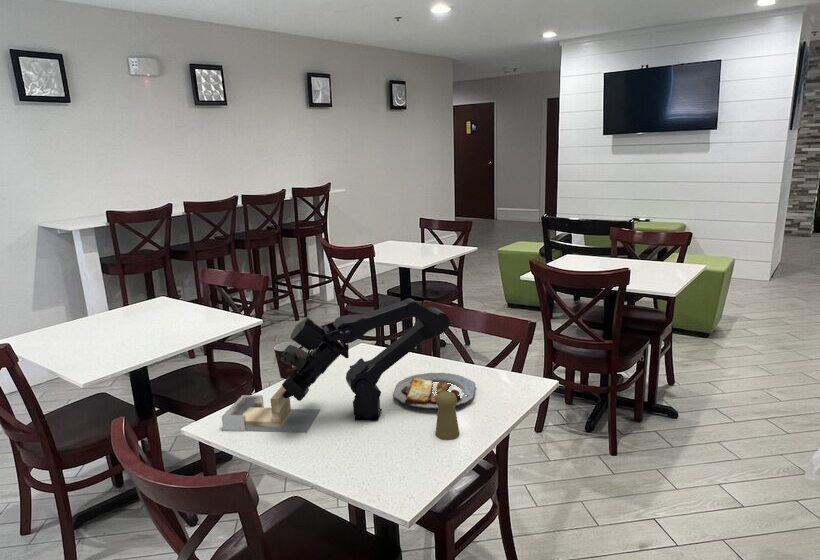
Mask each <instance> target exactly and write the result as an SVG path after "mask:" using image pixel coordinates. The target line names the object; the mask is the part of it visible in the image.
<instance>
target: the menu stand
mask: <svg viewBox="0 0 820 560" xmlns="http://www.w3.org/2000/svg"><path fill="white" fill-rule="evenodd" d="M285 391H286V389H285V388H283V386H282V385H281V386H280V387H279V388H278V390H277V391H276V392H275V393H274V394H273V395H272V396H271V397H270V400H269V401H270V407H264V408H255V407H249V408H248V409H247V411H246V412H245V413H244V414H243V415H245V418H246V426H252V427H281V426H282V425H283V424H284V422H285V421H286V420H287V418H288V417H289V416H290V414H291V409H292V407H291V397H289V398H284V397H283V394H284V393H285Z"/></svg>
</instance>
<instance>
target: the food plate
mask: <svg viewBox="0 0 820 560" xmlns="http://www.w3.org/2000/svg"><path fill="white" fill-rule="evenodd" d="M433 382H439V383H436V389H435V390H437V391H436V392H437V393H436V394H437V395H438V394H439V393H440V392H444V391H447V390H448V389H449V390H450V388H451V387H452V386H453V385H456V386H457V387H459V388H460V389H461V390H462V394H463V393H464V394H463V396H462V398H460V395H461V393H460V392H461V390H458V389H459V388H458V389H457V390H456V389H451V392H452V393H454V394H455V395H456V397H457V403H456V405H455V407H458V406H462V405H465V404H467V403H468V402H470V401H472V400H473V398H474V395H475V390H476V382H475V381H473V380H472V379H469V378H466V377H464V376H462V375H460V374H454V373H450V372H427V373H425V372H424V373H418V374H413V375H410V376H408V377H404V378H403V379H401V380H399V381H398V382H397V383H396V385H395V387H394V389H393V391H392V397H393V398H394V399H395V401H398V403H399V402H400V404H403V405H405V406H408V407H412V408H421V409H422V408H423V409H432V410H435V409H436V410H438V405H437V403H436V397H437V395H436V394H435V392H434V391H435V390H433V388H434V383H433ZM447 383H451V384H453V385H451V384H447ZM450 386H451V387H450ZM456 386H455V387H456ZM432 387H433V388H432ZM449 387H450V388H449ZM457 387H456V388H457ZM432 390H433V391H432ZM432 392H434V394H435V396H434V394H433V393H432ZM459 394H460V395H459ZM458 395H459V396H458ZM465 395H467V396H465Z"/></svg>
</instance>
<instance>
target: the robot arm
mask: <svg viewBox="0 0 820 560" xmlns="http://www.w3.org/2000/svg"><path fill="white" fill-rule="evenodd" d="M408 317H413V318H415V319H417V320H416V321H415V323H414V324H413V326H412V327H411V328H410V329H409V330H407V331H406V332H405V333H403V335H401V336H400V337H398V338H397V339H396V340H395V341H394V342H392V343H391V344H389V346H386V348H384V349H383V350H382V351H380V352H379V353H378V354H377V355H375V357H373V358H371V359H370V360H366V361H365V360H364V358H362V357H361V358H359V359H358V360H357V361H356V362H355V363H354V364H352V365H349V369H348V371H347V372H346V375H345V382H346V383H347V385H348V387H349V389H350V390H351V392H352V393H353V394H354V397H353V398H354V399H353V400H352V407H353V409H352V410H353V416H354V421H357V422H360V421H361V422H378V421H379V419H380V416H381V414H382V412H383V411H382V408H381V400H380V397H381V395H382V391H381V390H380V388H379V387H378V386H377V384H378V382H379V380H380V379H381V376H382V375H383V374H384V373H385V372H386V371H387V370H389V369H390V368H392V366H393V365H395V364H396V363H398V362H399V361H400V360H401V359H403V358H404V357H405V356H406V355H407V354H409V353H410V352H411V351H413V350H414V349H415V348H416V347H418V346H419V345H421V344H422V342H424V341H427V340H430V339H434V338H437V337H439V336H440V335H442V334H443V333H446V332H447V330H448V329H449V327H450V324H451V322H450V318H449V315H447V314H446V313H444V311H441V310H440V309H438V308H437V307H427V306H425V305H423V304H421V303H419V302H417V300H416V301H415V300H414V299H413V298H409V297H408V298H405V299H404V300H401V301H399V302H395V303H392V304H390V305H387V306H383V307H381V308H378V309H375V310H372V311H369V312H366V313H362V314H358V313H357V314H348V315H347V314H346V315H340V316H338V317H336V318H335V319H334V321H332V322H328V323H326V324H322V325H319V324H318V323H316V322H314V321H313V320H312V319H311V317H309V316H306V317H305V318H304V319H303V320H302V321H300V322H299V323H297V324H296V325H295V327H294V329H293V330H292V332H291V334H290V337H289V338H290V340H292V341H293V342H297V343H298V344H300V345H301V346H303V348H305V349H306V350H307V351H305V350H304V349H303V348H302V349H300V348H297V347H295V346H293V345H289V346H288V347H287V348H286V349H285V350H284V353H283V355H282V356H281V357H282V358H281V361H282V362H284V363H286V364H288V365H293V366H295V367H296V368H295V370H294V371H293V374H292V373H291V374H290V376H289V377H288V378H287V379H284V381H283V382H282V384H281V386H283V388H285V389H286V391H285V393H284V394H283V397H284V398H289V397H290V398H291V397H294V398H295V400H297V401H298V402H301V401H302V400H304V398H305V397H306V395H307V394H308V393H309V391H310V387H311V386H312V385H313V384H315V383H316V381H317V380H318V379H319V377H320V376H321V375H323V374H324V373H325V372H326V371H327V369H328V368H329V367H330V366H331V365H332V364H333V363H334V362H335V361H336V360H337V359H338V358H339V357H340V356H342V357H344V358H345V359H349V356H350V354H349V350H350V349H349V348H350V347H349V344H352V343H353V342H356V341H357V340H359V339H360V338H363V337H364V336H365V335H366V334H367V333H368V332H370V331H372V330H374V329H377V328H379V327H383V326H386V325H389V324H392V323H394V322H397V321H400V320H403V319H405V318H408ZM308 350H310V353H308Z"/></svg>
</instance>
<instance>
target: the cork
mask: <svg viewBox="0 0 820 560" xmlns="http://www.w3.org/2000/svg"><path fill="white" fill-rule="evenodd" d="M436 403H437V405H438V409H437V415H436V416H437V417H436V425H435V433H434V434H435V437H436V438H438V439H440V440H441V441H452V440H456V439H458V438H459V437H460V429H459V423H458V416H457V411H456V406H455V405H456V403H457V397H456V395H455V394H454V393H452V392H449V391H444V392H440V393H439V394H438V395H437V397H436Z"/></svg>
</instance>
